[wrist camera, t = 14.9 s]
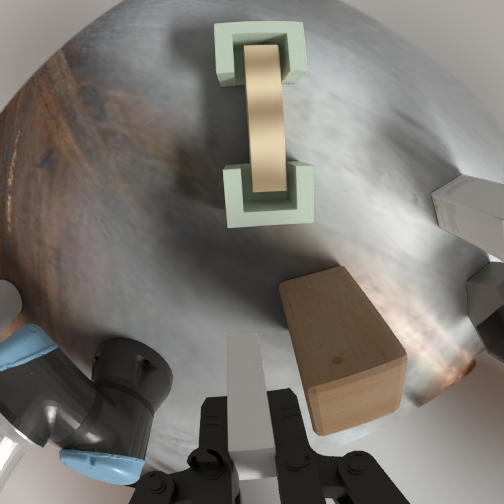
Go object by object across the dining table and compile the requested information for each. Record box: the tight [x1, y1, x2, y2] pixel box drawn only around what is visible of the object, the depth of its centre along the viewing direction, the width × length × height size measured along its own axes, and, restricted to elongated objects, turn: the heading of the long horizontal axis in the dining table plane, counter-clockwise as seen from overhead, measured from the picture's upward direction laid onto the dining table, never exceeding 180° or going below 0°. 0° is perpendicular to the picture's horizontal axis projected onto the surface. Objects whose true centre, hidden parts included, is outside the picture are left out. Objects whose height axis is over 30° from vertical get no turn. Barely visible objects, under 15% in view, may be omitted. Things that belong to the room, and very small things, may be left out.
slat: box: [243, 45, 287, 192], centre depth 28 cm, size 16×4×5 cm, turn 3°
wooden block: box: [279, 266, 407, 436], centre depth 32 cm, size 10×10×20 cm
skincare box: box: [431, 174, 504, 262], centre depth 29 cm, size 8×7×16 cm
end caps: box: [214, 21, 314, 228], centre depth 29 cm, size 22×9×7 cm, turn 3°
